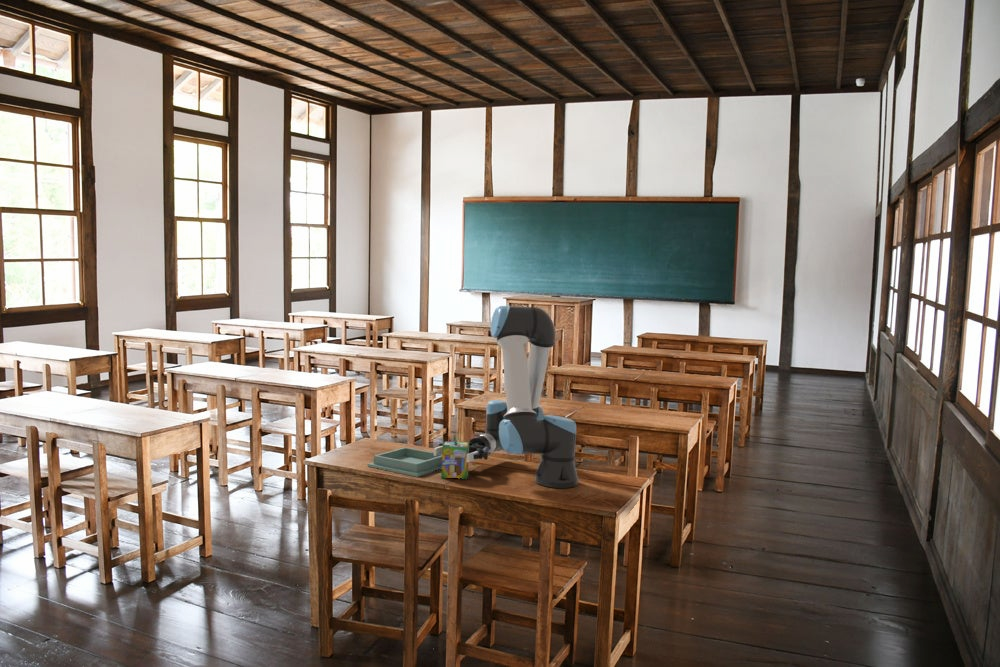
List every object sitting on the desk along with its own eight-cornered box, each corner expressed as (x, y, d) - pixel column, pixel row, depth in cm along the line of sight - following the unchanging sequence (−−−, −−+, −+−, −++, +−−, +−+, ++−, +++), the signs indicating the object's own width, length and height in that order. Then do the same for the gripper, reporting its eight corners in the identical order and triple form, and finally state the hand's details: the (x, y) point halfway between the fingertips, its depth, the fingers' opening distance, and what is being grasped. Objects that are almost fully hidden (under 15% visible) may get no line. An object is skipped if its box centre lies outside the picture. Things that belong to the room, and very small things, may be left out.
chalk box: (466, 480, 260) (469, 438, 259) (440, 478, 260) (442, 436, 259) (468, 473, 269) (470, 432, 268) (443, 472, 269) (445, 431, 268)
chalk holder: (451, 465, 279) (452, 454, 279) (417, 477, 260) (417, 465, 260) (403, 456, 290) (404, 445, 289) (367, 466, 270) (367, 455, 270)
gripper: (510, 460, 274) (481, 471, 255) (453, 450, 286) (421, 459, 267) (511, 440, 273) (482, 450, 255) (454, 430, 285) (422, 439, 267)
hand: (450, 455), depth 261 cm, fingers open, 13 cm apart
